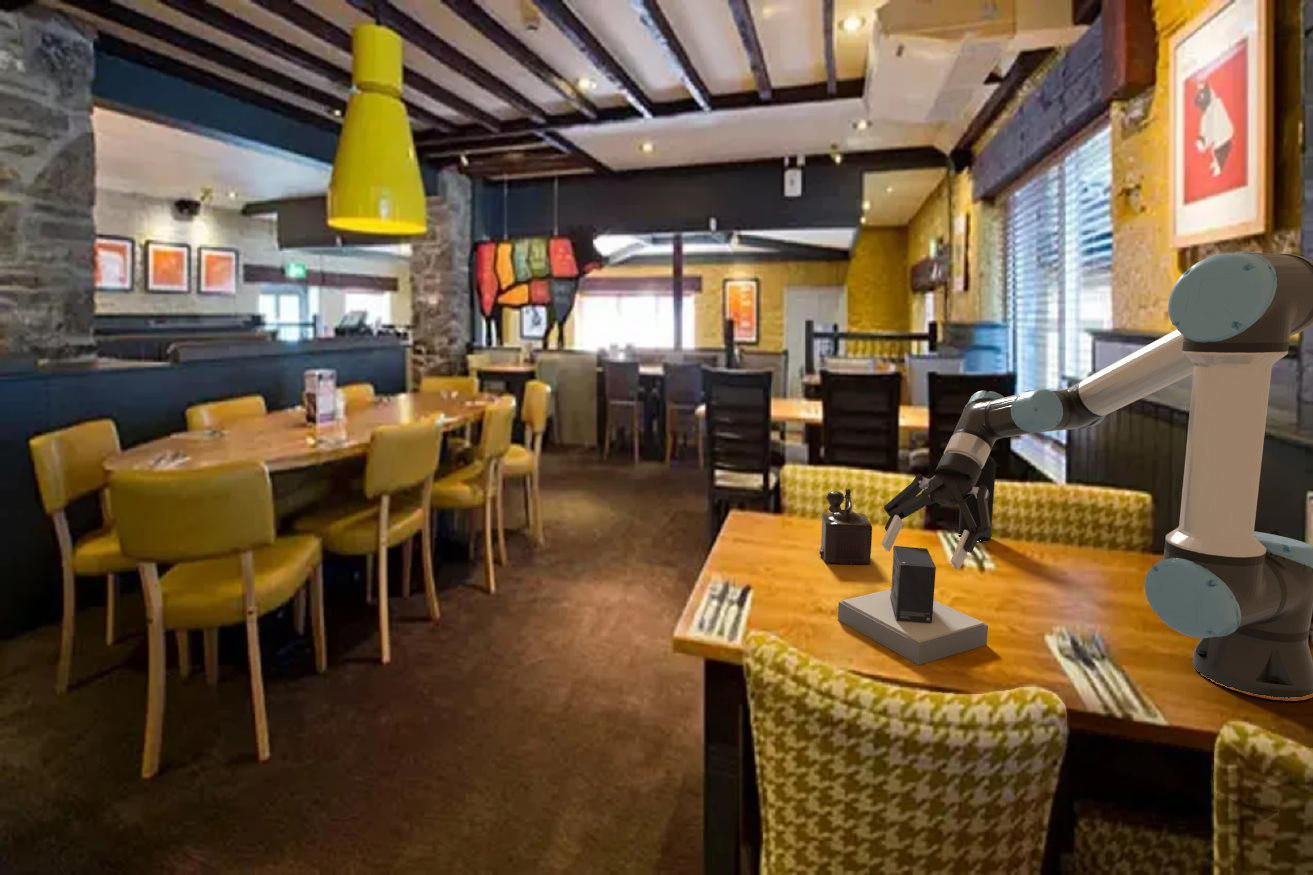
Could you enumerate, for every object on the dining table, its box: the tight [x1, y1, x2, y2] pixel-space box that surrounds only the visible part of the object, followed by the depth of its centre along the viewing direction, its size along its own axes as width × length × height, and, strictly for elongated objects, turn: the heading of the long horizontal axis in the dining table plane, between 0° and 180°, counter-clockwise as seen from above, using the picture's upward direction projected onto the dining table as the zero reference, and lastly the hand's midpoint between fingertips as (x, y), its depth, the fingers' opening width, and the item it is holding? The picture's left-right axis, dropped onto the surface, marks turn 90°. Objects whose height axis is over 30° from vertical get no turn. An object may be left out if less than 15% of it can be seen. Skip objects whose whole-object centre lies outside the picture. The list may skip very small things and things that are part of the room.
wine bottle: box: [957, 455, 997, 543], centre depth 183 cm, size 8×8×30 cm
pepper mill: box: [819, 488, 873, 566], centre depth 169 cm, size 16×11×18 cm
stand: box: [837, 588, 989, 666], centre depth 132 cm, size 20×16×4 cm
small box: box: [890, 545, 937, 623], centre depth 131 cm, size 11×6×10 cm, turn 168°
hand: (918, 556), depth 133 cm, fingers open, 13 cm apart
